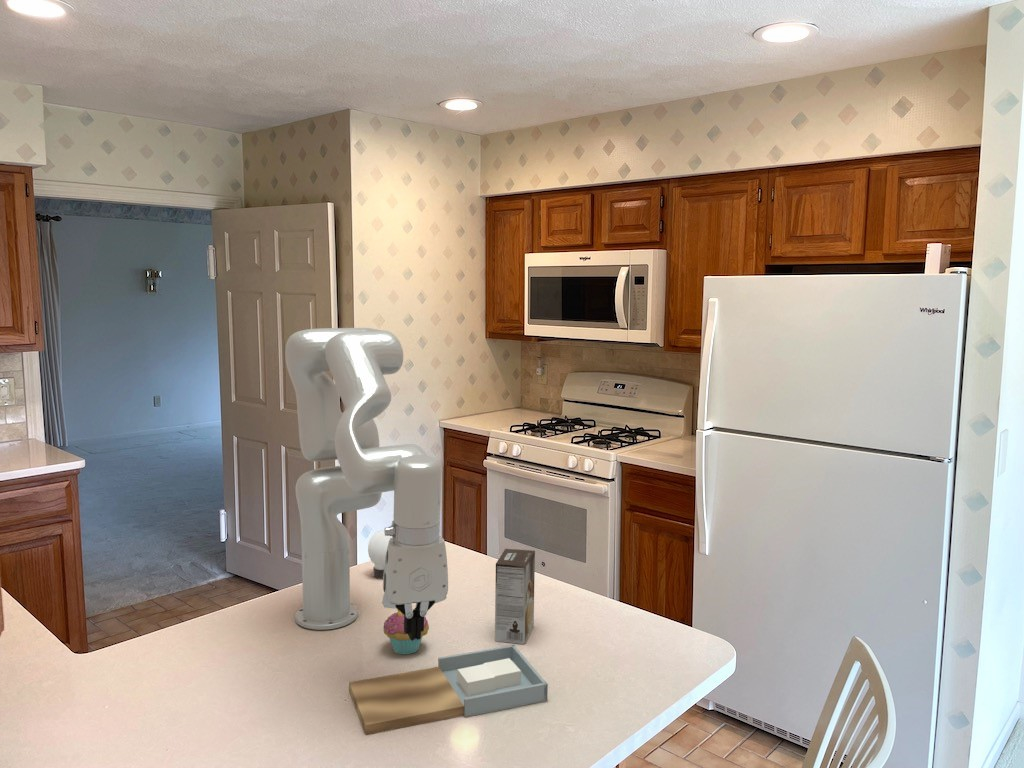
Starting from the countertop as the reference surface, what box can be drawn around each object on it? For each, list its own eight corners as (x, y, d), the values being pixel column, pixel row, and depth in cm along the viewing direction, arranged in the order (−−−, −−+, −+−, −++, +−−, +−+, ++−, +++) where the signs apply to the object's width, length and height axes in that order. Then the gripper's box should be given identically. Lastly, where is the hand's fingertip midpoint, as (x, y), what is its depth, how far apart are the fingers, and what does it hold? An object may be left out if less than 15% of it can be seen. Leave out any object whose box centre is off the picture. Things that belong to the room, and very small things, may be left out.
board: (349, 691, 136) (349, 682, 135) (439, 675, 142) (439, 666, 141) (365, 734, 123) (365, 725, 123) (463, 715, 129) (463, 706, 128)
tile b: (483, 676, 140) (483, 663, 140) (509, 670, 142) (509, 658, 142) (494, 689, 136) (494, 676, 136) (520, 683, 138) (520, 670, 138)
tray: (438, 673, 142) (438, 657, 142) (513, 660, 148) (513, 644, 147) (464, 717, 128) (465, 699, 128) (547, 700, 134) (547, 684, 133)
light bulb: (364, 580, 185) (363, 534, 184) (373, 569, 192) (373, 525, 190) (391, 582, 184) (391, 536, 183) (400, 571, 191) (400, 527, 189)
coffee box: (503, 622, 164) (504, 547, 162) (534, 625, 163) (535, 549, 160) (493, 641, 155) (495, 562, 153) (526, 645, 154) (527, 565, 151)
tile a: (457, 682, 138) (457, 669, 138) (484, 676, 140) (484, 664, 140) (467, 696, 134) (467, 682, 133) (494, 690, 136) (495, 677, 135)
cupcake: (391, 662, 146) (391, 600, 144) (377, 643, 153) (377, 584, 152) (435, 653, 150) (435, 592, 148) (419, 635, 157) (419, 577, 156)
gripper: (376, 544, 123) (374, 653, 126) (467, 535, 129) (463, 640, 132) (366, 528, 130) (364, 632, 133) (453, 520, 135) (449, 620, 139)
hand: (413, 635), depth 132 cm, fingers closed
